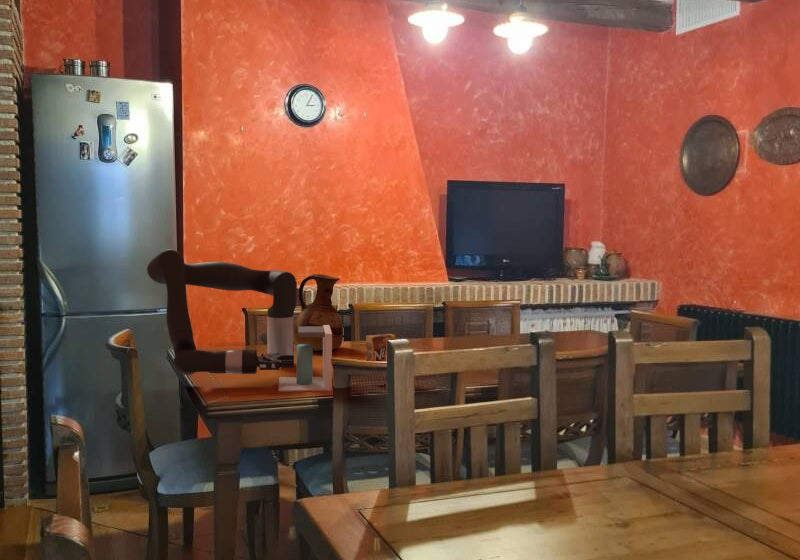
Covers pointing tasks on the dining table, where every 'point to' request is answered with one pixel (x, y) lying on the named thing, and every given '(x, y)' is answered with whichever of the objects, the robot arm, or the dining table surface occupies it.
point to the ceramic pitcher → (319, 313)
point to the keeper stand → (326, 380)
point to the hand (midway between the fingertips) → (294, 361)
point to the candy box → (377, 346)
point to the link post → (304, 364)
